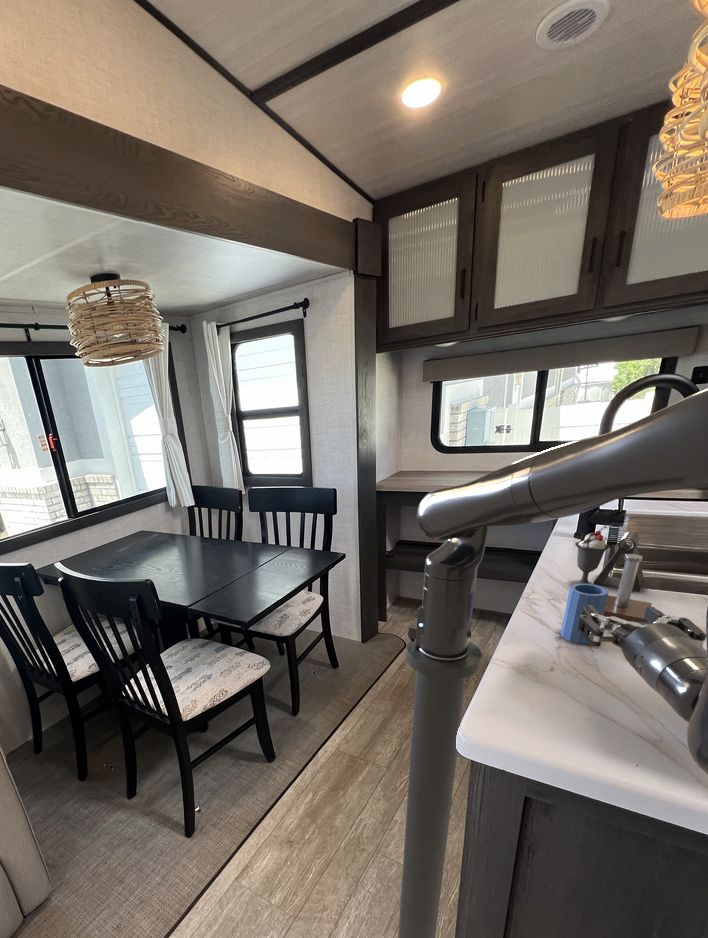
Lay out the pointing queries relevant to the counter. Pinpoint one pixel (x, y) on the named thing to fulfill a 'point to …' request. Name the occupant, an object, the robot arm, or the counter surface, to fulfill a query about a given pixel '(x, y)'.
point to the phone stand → (622, 548)
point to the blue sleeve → (581, 609)
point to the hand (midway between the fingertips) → (616, 610)
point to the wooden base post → (627, 595)
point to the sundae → (590, 554)
